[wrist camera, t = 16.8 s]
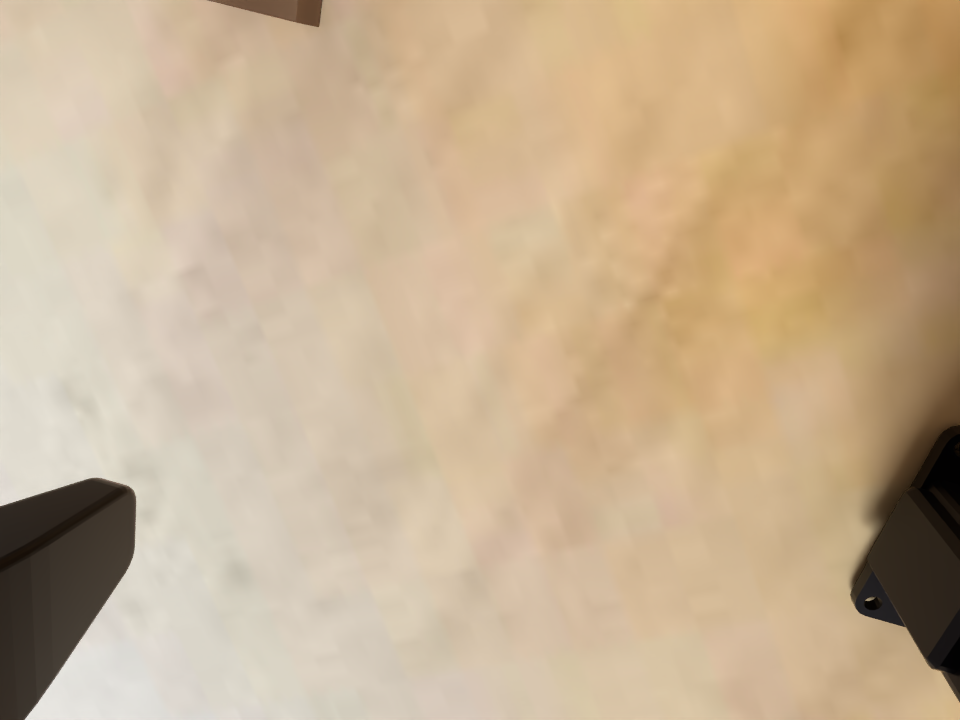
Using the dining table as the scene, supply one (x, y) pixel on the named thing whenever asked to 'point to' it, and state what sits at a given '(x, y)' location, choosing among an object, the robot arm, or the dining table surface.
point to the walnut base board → (282, 9)
